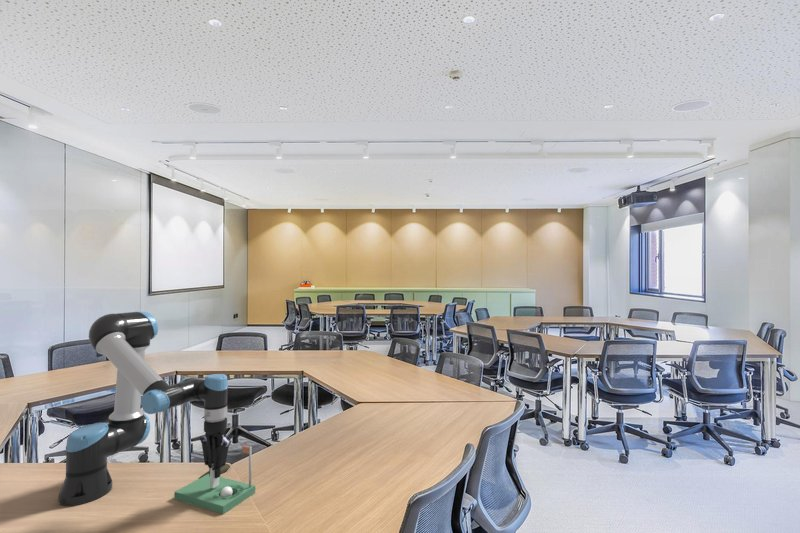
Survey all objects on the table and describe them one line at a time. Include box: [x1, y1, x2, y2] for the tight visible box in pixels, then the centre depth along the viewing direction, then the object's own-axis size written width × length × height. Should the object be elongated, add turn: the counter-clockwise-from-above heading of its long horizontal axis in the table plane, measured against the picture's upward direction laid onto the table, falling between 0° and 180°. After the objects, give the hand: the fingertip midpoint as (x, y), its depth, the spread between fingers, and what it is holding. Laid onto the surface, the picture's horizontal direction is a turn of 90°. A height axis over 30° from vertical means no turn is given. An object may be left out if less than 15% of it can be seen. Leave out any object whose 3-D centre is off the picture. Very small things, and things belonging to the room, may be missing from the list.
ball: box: [220, 486, 233, 497], centre depth 135 cm, size 4×4×4 cm
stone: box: [197, 462, 232, 480], centre depth 152 cm, size 13×5×2 cm, turn 155°
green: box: [173, 445, 256, 515], centre depth 137 cm, size 24×14×16 cm, turn 66°
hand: (214, 486), depth 137 cm, fingers closed
